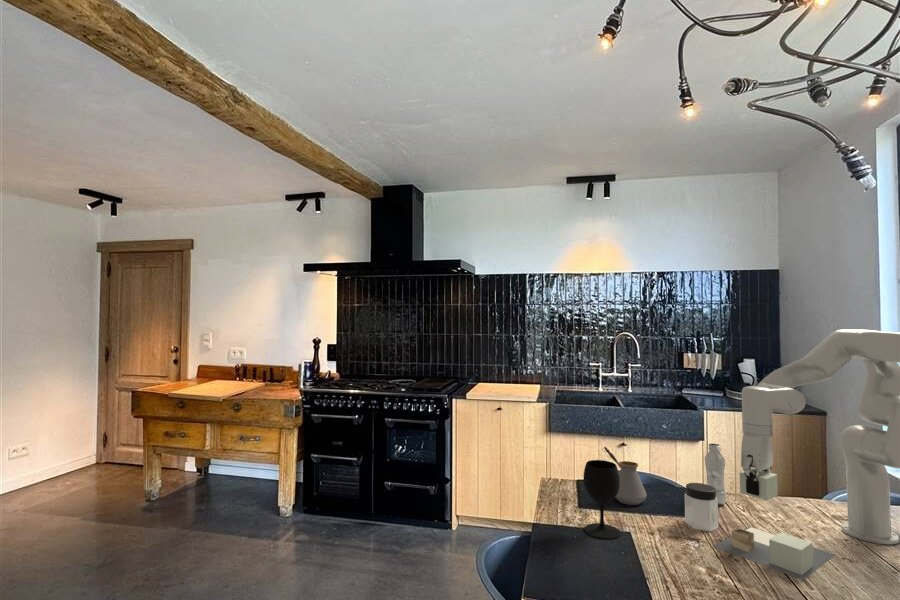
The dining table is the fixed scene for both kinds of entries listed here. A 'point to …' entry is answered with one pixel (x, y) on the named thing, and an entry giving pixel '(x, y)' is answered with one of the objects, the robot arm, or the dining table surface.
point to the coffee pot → (629, 483)
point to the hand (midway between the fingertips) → (758, 490)
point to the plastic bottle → (716, 471)
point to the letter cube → (742, 539)
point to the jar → (701, 507)
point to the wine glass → (601, 494)
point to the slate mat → (763, 553)
